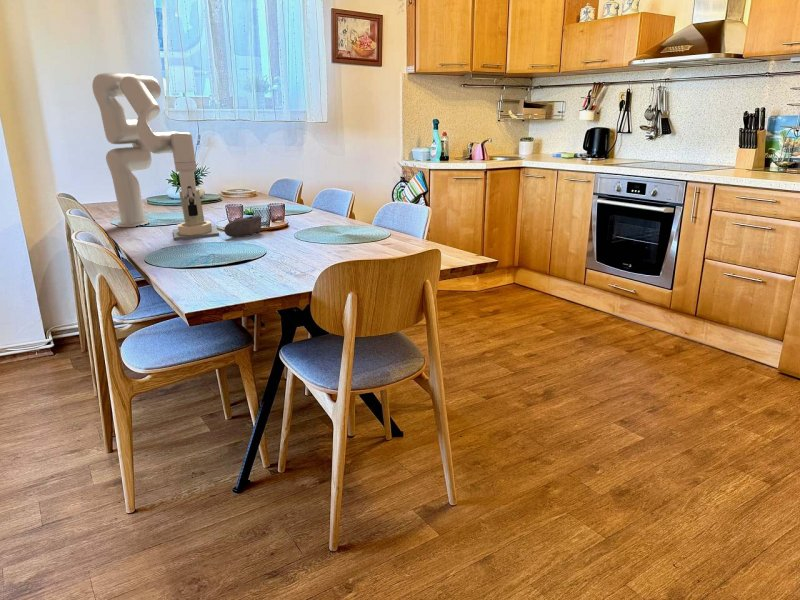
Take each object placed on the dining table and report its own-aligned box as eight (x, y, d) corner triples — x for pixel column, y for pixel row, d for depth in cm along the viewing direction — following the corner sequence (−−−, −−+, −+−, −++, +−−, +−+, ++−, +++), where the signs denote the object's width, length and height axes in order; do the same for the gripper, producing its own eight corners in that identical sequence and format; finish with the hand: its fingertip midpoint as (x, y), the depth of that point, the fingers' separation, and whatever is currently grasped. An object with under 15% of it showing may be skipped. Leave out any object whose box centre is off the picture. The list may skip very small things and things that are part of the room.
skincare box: (204, 221, 217) (200, 189, 213) (197, 223, 214) (192, 191, 210) (191, 220, 219) (186, 189, 215) (183, 223, 216) (178, 191, 212)
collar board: (173, 232, 222) (171, 222, 221) (215, 227, 228) (213, 218, 227) (174, 240, 208) (172, 229, 207) (219, 235, 214) (217, 225, 213)
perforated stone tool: (227, 240, 207) (224, 221, 205) (223, 237, 211) (220, 219, 209) (266, 234, 214) (264, 216, 212) (261, 232, 219) (259, 214, 216)
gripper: (174, 165, 216) (181, 211, 222) (175, 169, 201) (183, 218, 206) (194, 164, 219) (201, 209, 224) (197, 168, 203) (205, 216, 209)
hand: (192, 213), depth 215 cm, fingers closed on skincare box, 7 cm apart
